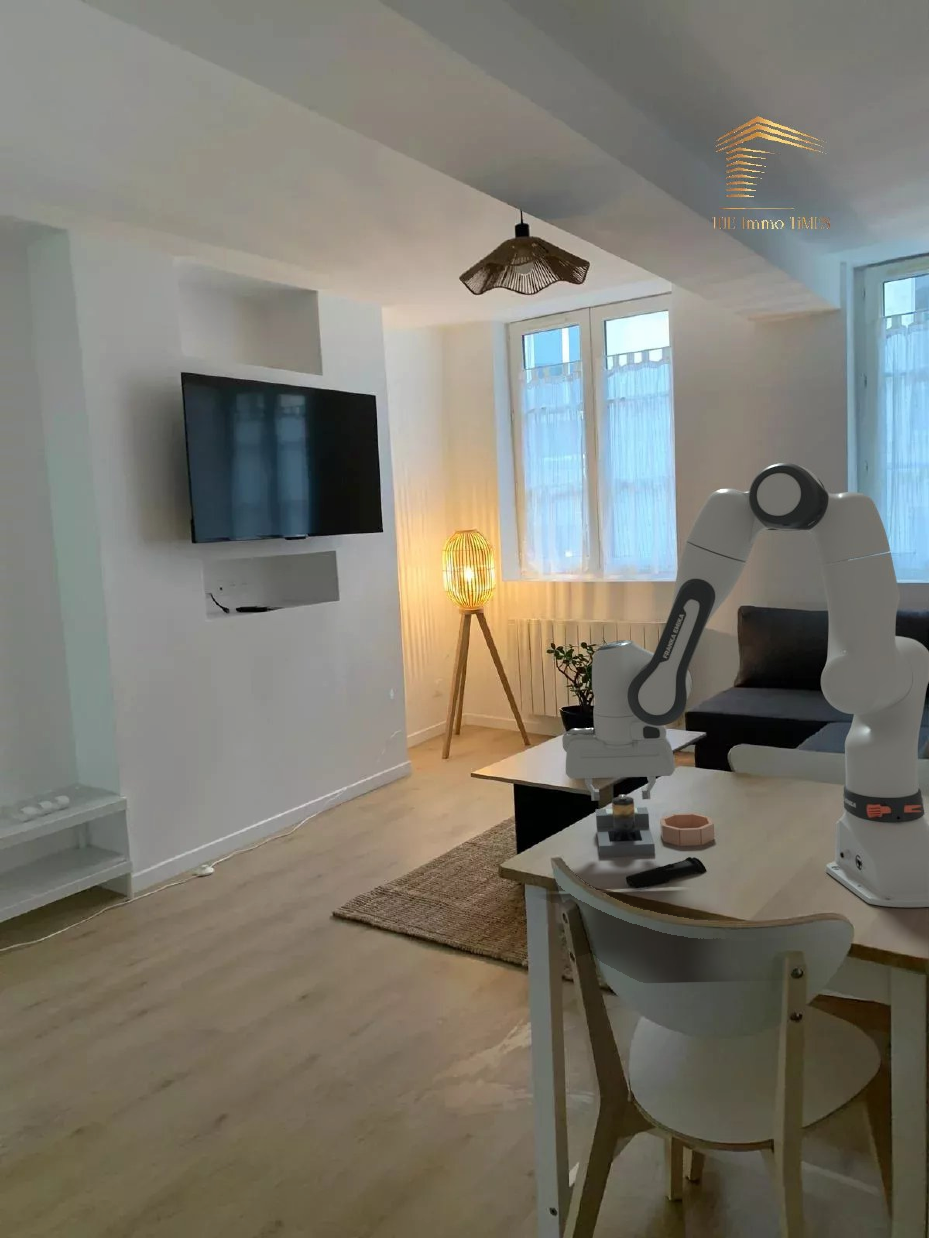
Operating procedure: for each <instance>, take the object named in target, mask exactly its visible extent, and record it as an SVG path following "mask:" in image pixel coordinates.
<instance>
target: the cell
mask: <svg viewBox="0 0 929 1238" xmlns="http://www.w3.org/2000/svg"><path fill="white" fill-rule="evenodd" d="M634 800H635V799H634V798H633V797H631V796H627V794H618V796H617V797H613V798H612V800H611V806H612V807H611V809H612V812H613V824H614V841H615V842H620V841H636V833H635V811H634V808H635V801H634Z"/></svg>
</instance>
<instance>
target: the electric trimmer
mask: <svg viewBox="0 0 929 1238" xmlns="http://www.w3.org/2000/svg"><path fill="white" fill-rule="evenodd" d="M705 872H708V870H707V868H706V866H705V865H704V864H703V861H701V860H700V859H699V858H697V857H694V856H693V857H691V856H688V857H686V858H685V859H683V860H681V861H677V862H673V863H669V864H666V865H662V866H657V867H653V868H651V869H648V870H644V871H641V872H636V873H634V874H630V875H627V876H626V877H625V879H626V884H627V885H628V886H630V887H631V888H633V889H634V890H635V889H636V890H638V889H645V888H649V887H655V886H659V885H663V884H667V883H669V882H670V881H672V880H673V881H674V880H675V879H679V878H682V877H683V878H684V877H687V876H690V875H693V874H694V875H695V874H697V873H698V874H699V873H701V874H704V873H705Z"/></svg>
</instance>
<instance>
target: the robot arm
mask: <svg viewBox="0 0 929 1238" xmlns="http://www.w3.org/2000/svg"><path fill="white" fill-rule="evenodd" d="M765 531H780V532H781V531H782V532H796V531H805V532H807V533H808V534H809V535H810V537H811V539H812V540H813V542H814V545H815V549H816V552H817V559H818V563H819V569H820V573H821V579H822V584H823V588H824V594H825V598H826V605H827V613H828V632H827V633H828V634H827V635H828V639H827V640H828V641H827V657H826V662H825V666H824V668H823V670H822V672H821V676H820V687H821V691H822V693H823V696H824V698H825V700H826V701H827V702H828V703H829V705H830V706H832V708H834V709H836V710H837V711H839V712H841V713H844V714H849V715H853V718H852V722H851V726H850V728H849V731H848V734H847V735H846V738H845V742H844V757H845V758H844V761H845V764H844V765H845V785H844V786H843V793H842V800H843V808H844V809H845V810H844V813H843V815H842V816H840V819H838V820H837V821H836V823H835V830H834V831H835V832H834V833H835V834H834V835H835V836H834V861H831V862H829V863H826V865H825V872H826V873H827V874H829V875H830V876H831V877H833V878H834V879H835V880H837V881H838V882H840V884H842V885H843V886H844V887H846V888H847V889H849V890H850V891H851V892H852V893H853V894H855V895H856V896H858V898H861V900H863V901H864V902H866V903H867V904H870V905H876V906H880V907H881V906H882V907H889V908H890V907H891V908H926V907H927V908H929V822H928V818H926V816H925V808H924V804H925V803H924V799H923V796H922V795H923V794H922V791H921V789H920V788H919V762H918V761H919V759H918V758H919V754H918V753H919V752H918V750H919V748H918V747H919V737H920V729H921V726H922V725H921V724H922V718H923V714H924V707H925V700H926V693H927V688H928V686H929V685H928V684H929V650H928V649H927V647H925V645H924V644H923V643H921V642H919V641H918V640H917V639H914V638H910V637H907V636H906V637H904V636H900V635H899V636H898V635H896V621H897V612H898V607H899V606H900V602H901V598H900V597H901V596H900V590H899V587H898V582H897V581H898V580H897V576H896V572H895V566H894V561H893V557H892V553H891V548H890V543H889V539H888V536H887V533H886V530H885V526H884V523H883V520H882V518H881V515H880V513H879V511H878V508H877V506H876V504H875V502H874V500H873V499H872V498H871V497H870V496H868V494H867V495H866V494H864V493H861V492H858V491H857V492H856V491H845V492H840V493H831V492H828V491H827V490H826V489H825V486H824V484H823V483H822V482H821V480H820V479H819V478H818V477H817V475H816V474H814V473H813V472H812V471H811V470H809V469H807V468H806V467H804V466H801V465H798V464H794V463H791V462H780V463H775V464H772V465H769V466H767V467H766V468H764V469H762V470H761V471H760V472H759V473H758V474H757V475H756V476H755V477H754V479H753V481H752V482H751V484H750V487H749V491H745V490H744V491H743V490H740V489H737V488H736V489H735V488H721V489H718V490H714V491H713V492H712V493H711V494H710V495H709V496H708V497H707V498H706V500H705V502H704V504H703V505H702V506H701V509H700V510H699V512H698V514H697V516H695V519H694V521H693V524H692V526H691V527H690V531H689V533H688V535H687V537H686V540H685V543H684V546H683V547H682V551H681V554H680V558H679V563H678V567H677V570H676V571H677V573H676V578H675V584H674V589H673V598H672V603H671V608H670V612H669V615H668V618H667V620H666V623H665V624H664V628H663V631H662V633H661V636H660V638H659V641H658V642H657V646H656V648H655V650H654V652H652V651H650V650H647V649H646V648H644V647H642V646H640V645H638V644H637V642H635V641H634V640H630V639H621V640H616V641H611V642H608V643H605V644H602V645H601V646H600V647H598V648H597V649H596V650H595V651H594V654H593V657H592V665H591V688H592V689H591V691H592V693H593V697H594V706H593V712H592V713H593V727H589V728H587V727H584V728H571V729H569V730H568V731H566V732H565V733H564V734H563V735H562V739H561V740H562V748H563V750H564V752H566V754H565V755H566V756H565V774H566V776H567V777H568V778H569V779H584V784H585V786H586V788H587V789H588V790H589V792H590V793H591V795H590V796H591V801H600V789H598V788H595V787H594V786H593V779H601V778H605V779H606V778H609V779H611V778H640V777H646V778H647V781H648V782H647V785H646V787H642V788H641V798H642V800H651V791H652V789H653V788H654V785H655V784H656V782H657V781H656V779H657V778H656V777H670V776H672V775H673V774H674V772H675V770H676V767H675V766H676V765H675V759H674V758H675V757H674V753H673V748H672V745H671V742H670V741H669V739H668V737H667V727H666V726H667V725H670V724H672V723H674V722H676V721H677V720H678V719H679V718H681V716H682V715H683V713H684V712H685V710H686V706H687V700H688V698H689V696H690V695H691V692H692V691H691V690H692V688H693V677H692V674H691V671H690V669H689V668H690V664H691V663H692V660H693V658H694V655H695V653H696V650H697V648H698V646H699V645H698V644H699V643H700V640H701V637H702V635H703V632H704V631H705V629H706V626H707V625H708V623H709V621H710V620H711V618H712V617H713V616H714V614H715V613H716V612H717V610H719V608H720V607H721V605H722V604H723V603H724V602H725V601H726V599H727V598H728V597H729V596H730V593H731V592H732V591H733V590H734V588H735V586H736V584H737V583H738V581H739V579H740V577H741V575H742V573H743V570H745V569H744V568H745V566H746V564H747V561H748V559H749V556H750V553H751V551H752V548H753V547H754V544H755V542H756V540H757V539H758V537H760V535H761V534H762V533H764V532H765Z"/></svg>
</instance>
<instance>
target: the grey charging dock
mask: <svg viewBox="0 0 929 1238" xmlns="http://www.w3.org/2000/svg"><path fill="white" fill-rule="evenodd" d="M634 811H635V833H636V841H620V842H615V841H614V824H613V812H612V808H598V809H597V808H596V809H595V821H596V834H597V835H596V837H597V843H598V852H599V858H601V857H603V858H604V857H627V856H628V857H630V856H631V857H634V856H636V857H637V856H655V855H656V849H655V848H656V847H655V845H656V844H655V842H654V838H653V835H652V831H651V827H650V816H649V815H650V813H649V811H648V808H647V806H646V807H645V806H644V807H643V806H642V807H634Z"/></svg>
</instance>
